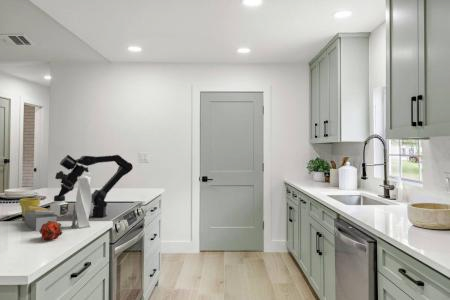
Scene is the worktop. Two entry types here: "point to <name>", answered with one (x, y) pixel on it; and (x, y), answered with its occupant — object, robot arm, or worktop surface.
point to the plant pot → (28, 204)
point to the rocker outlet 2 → (44, 212)
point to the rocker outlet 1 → (37, 208)
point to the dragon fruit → (51, 230)
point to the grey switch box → (38, 219)
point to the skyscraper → (82, 203)
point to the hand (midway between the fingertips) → (58, 197)
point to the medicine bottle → (59, 206)
